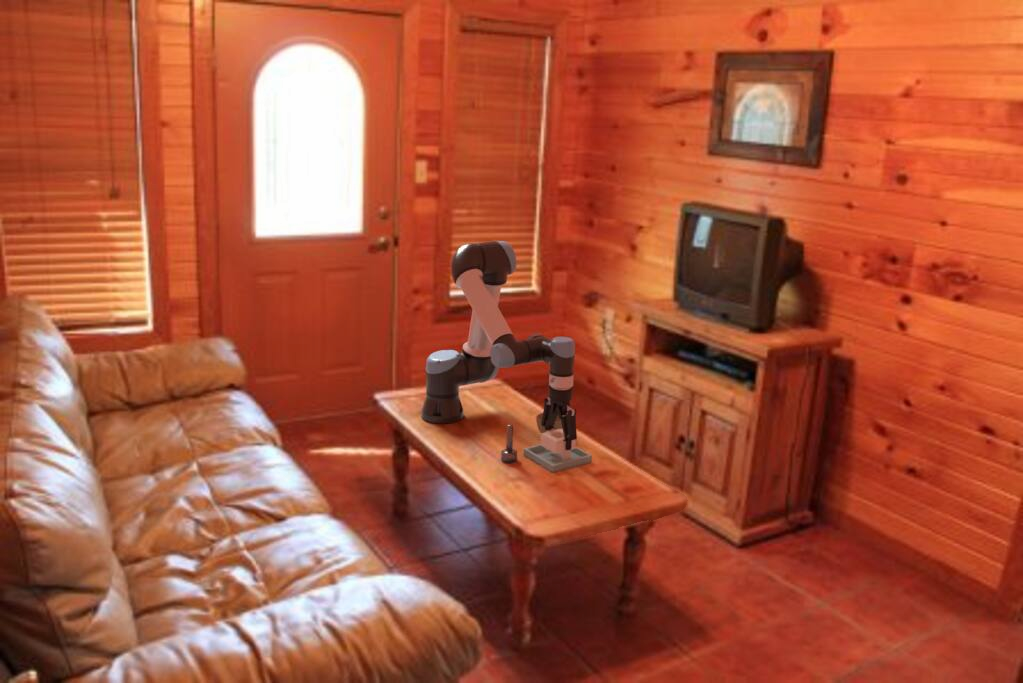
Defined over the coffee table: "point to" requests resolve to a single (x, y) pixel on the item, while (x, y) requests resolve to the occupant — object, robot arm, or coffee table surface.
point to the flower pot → (539, 420)
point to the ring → (554, 441)
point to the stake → (509, 447)
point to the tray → (556, 458)
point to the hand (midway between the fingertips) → (557, 453)
